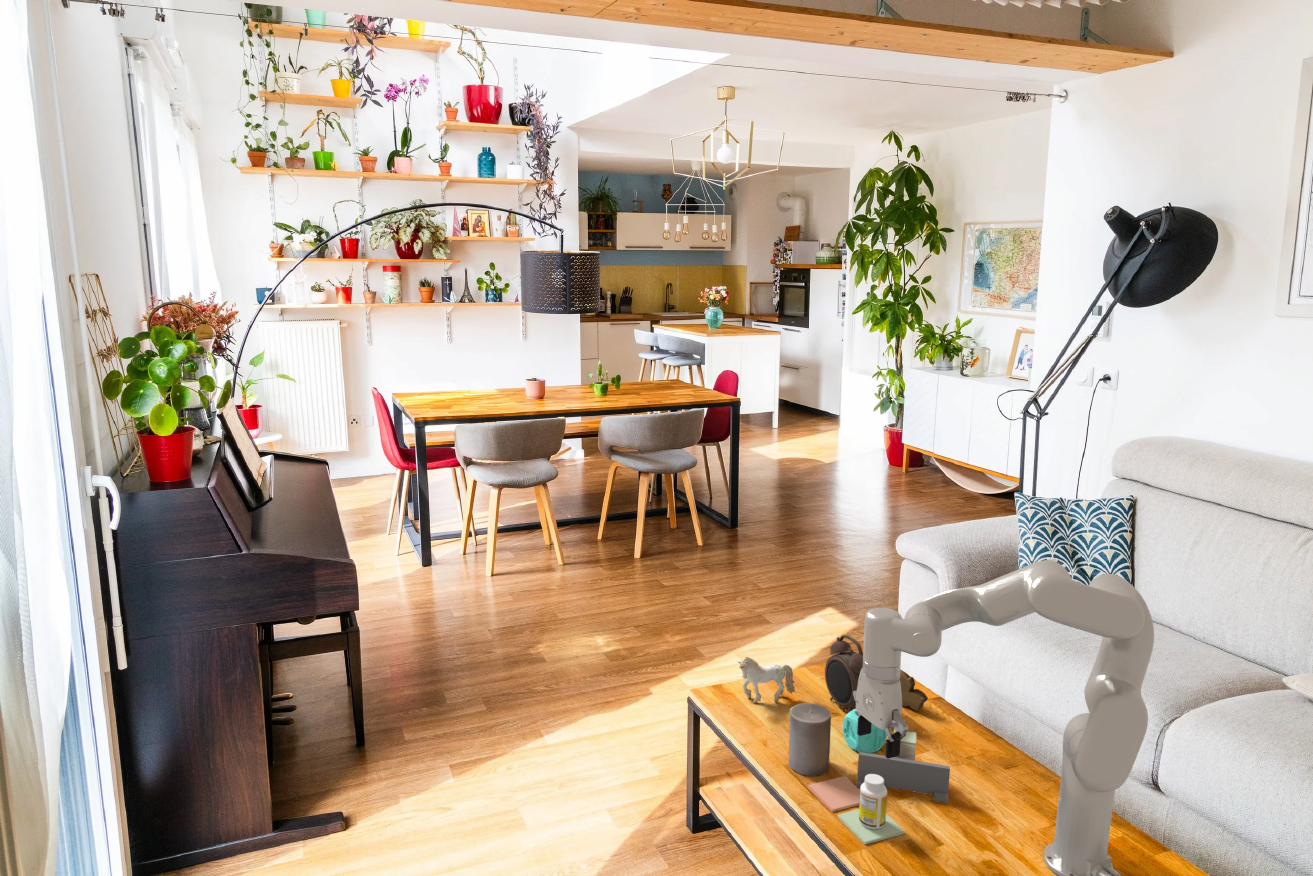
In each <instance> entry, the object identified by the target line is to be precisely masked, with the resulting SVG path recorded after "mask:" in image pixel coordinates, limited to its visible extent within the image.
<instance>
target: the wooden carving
mask: <svg viewBox="0 0 1313 876" xmlns="http://www.w3.org/2000/svg"><path fill="white" fill-rule="evenodd" d="M899 680H900V684H901V694H902V707H910V709H912V710H914V711H916V712H919V711H920V710H921V709H922V708H924V704H925V703H926V702H927V701H928V699H929V697H928V696H927V695H926V693H925V692H924V691H922V690H920V689H919V688H918V689H917V688H915V686H916V680H915V679H914V677H913V676H910V675H909V674H908V673H907V672H906V671H904V670H903V669H901V668H900V679H899Z"/></svg>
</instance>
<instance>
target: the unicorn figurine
mask: <svg viewBox="0 0 1313 876" xmlns="http://www.w3.org/2000/svg"><path fill="white" fill-rule="evenodd" d="M737 663H738V664H739V666H738V668H739V669H740V670H741V673H742V675H741V677H742V679H746V680H745V681H744V682H743V684H742V688H743V691H744V694H745V695H746V698H748V699H751V697H752V690H751V689H750V688H748V687H747V686H748V685H749V684H750V683H752V686H753V688H754V692H755V698H754V699H753V701H752V704H756V705H757V704H758V702H761V701H762V700H761V698H762V695H761V694H760V691H759V686H758V684H765V683H769V682H771V681H773V682H774V683H776V685H777V687H778V689H777V690H776V692H775V693H774V694H773V699H774V703H778V702H779V699H780V697H781V696H782V695H783V693H784V689H785V688H786V691H787V692H788V693H789V694H791V695H792V694H793V693H795V692H796V687H795V685H794V684H795V683H796V682H795V680H794V679H793V677H794V673H793V667H791V666H790V665H788V664H783V665H779V664H772V665H767V666H761V665H759V663H758V662H757V661H756V660H755V659H754V658H752V657H749V656H745V657H743V658H741V661H737ZM783 680H785V684H784V682H783ZM784 685H785V686H784Z"/></svg>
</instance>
